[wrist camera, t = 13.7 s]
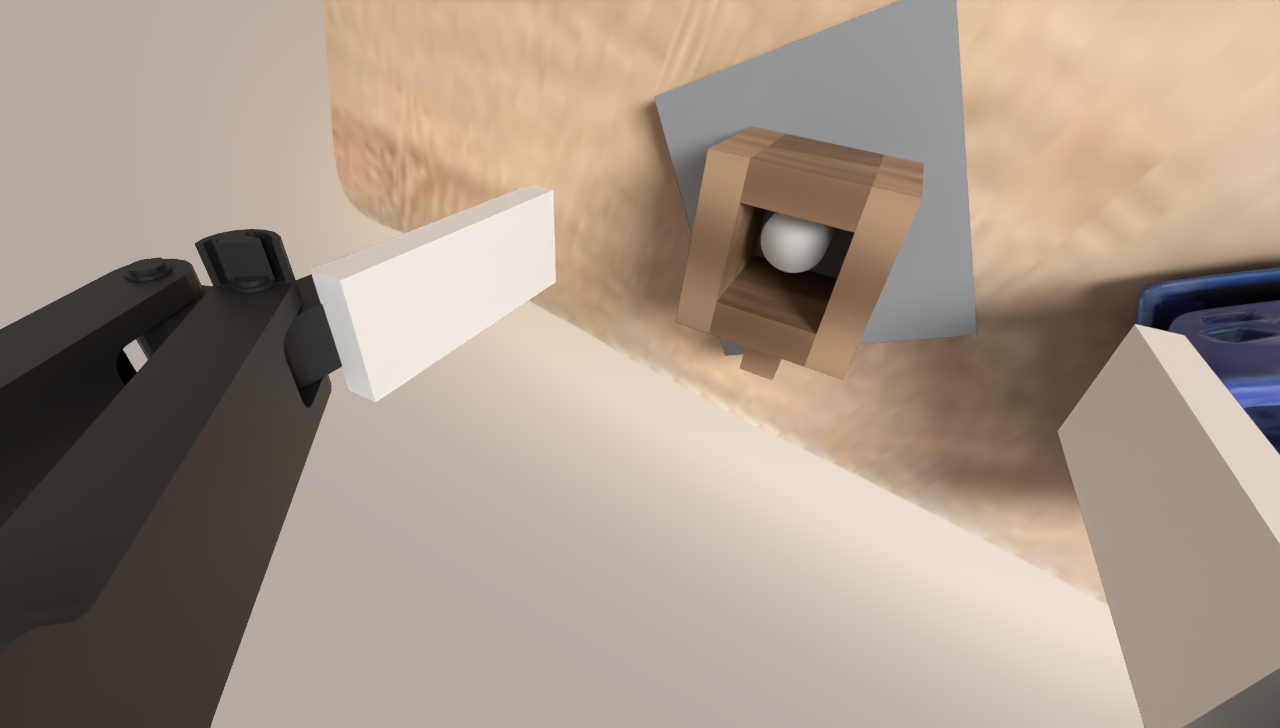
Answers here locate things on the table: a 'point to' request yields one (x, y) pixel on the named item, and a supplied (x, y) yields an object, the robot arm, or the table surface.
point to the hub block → (805, 301)
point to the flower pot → (1228, 333)
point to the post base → (862, 119)
